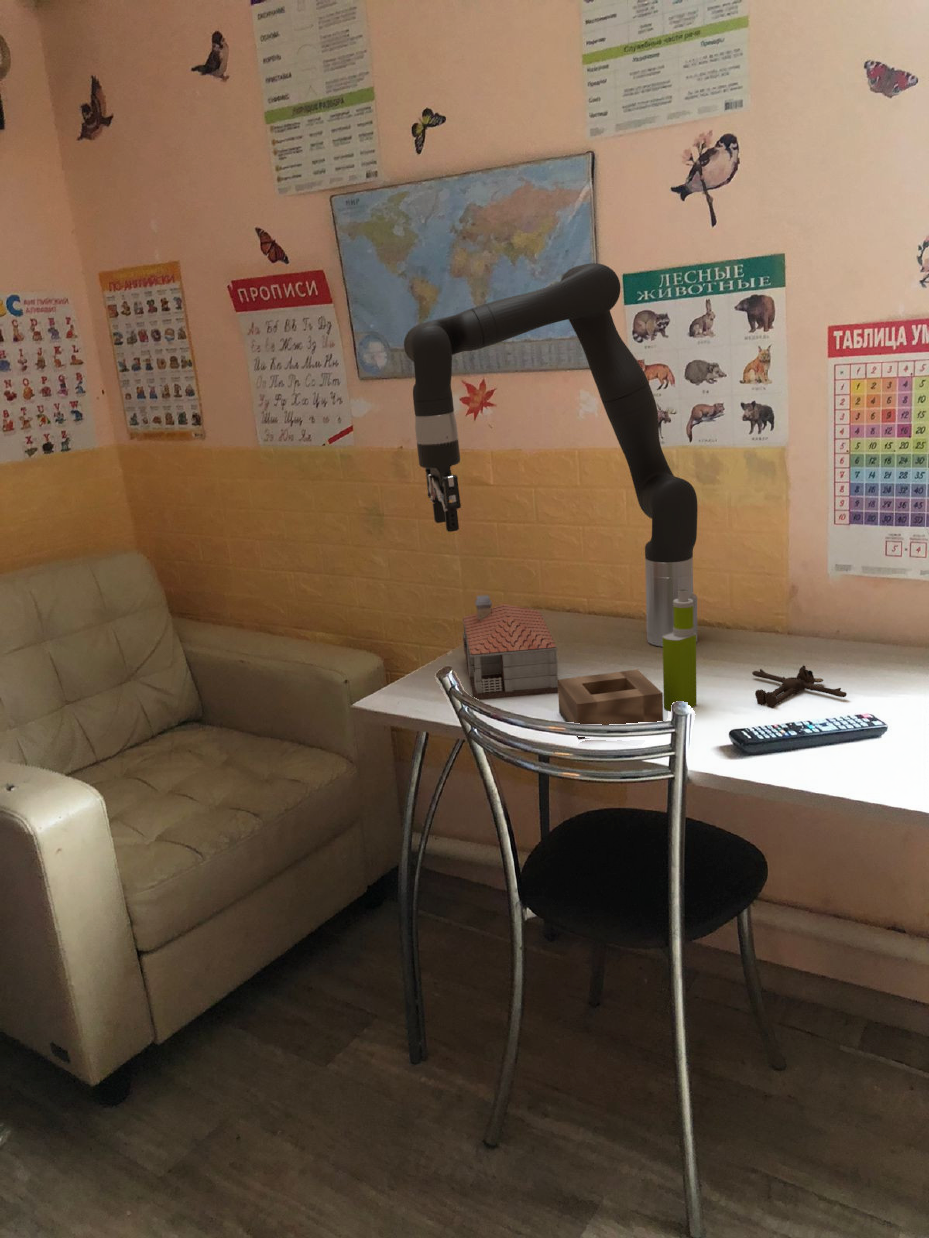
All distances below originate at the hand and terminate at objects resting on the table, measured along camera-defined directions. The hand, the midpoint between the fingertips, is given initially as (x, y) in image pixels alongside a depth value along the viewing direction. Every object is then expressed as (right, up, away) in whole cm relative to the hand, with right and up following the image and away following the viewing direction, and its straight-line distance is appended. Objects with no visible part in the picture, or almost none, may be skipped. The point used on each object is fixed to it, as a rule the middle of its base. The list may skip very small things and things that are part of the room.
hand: (446, 526), depth 191 cm
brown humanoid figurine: (+59, -30, -15) cm, 68 cm away
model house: (+12, -28, +4) cm, 31 cm away
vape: (+40, -32, -17) cm, 54 cm away
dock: (+27, -34, -21) cm, 48 cm away
